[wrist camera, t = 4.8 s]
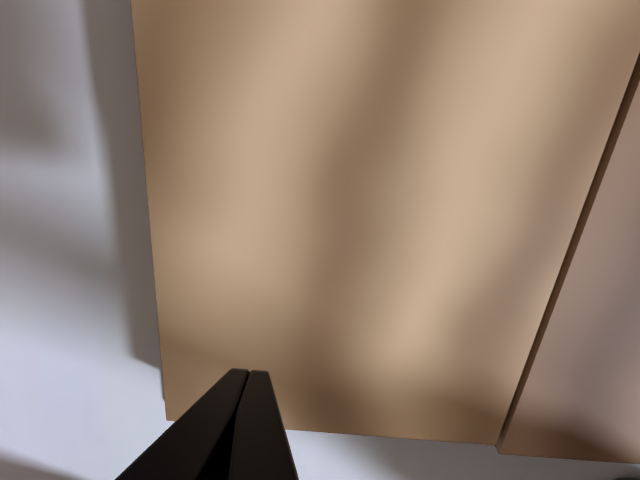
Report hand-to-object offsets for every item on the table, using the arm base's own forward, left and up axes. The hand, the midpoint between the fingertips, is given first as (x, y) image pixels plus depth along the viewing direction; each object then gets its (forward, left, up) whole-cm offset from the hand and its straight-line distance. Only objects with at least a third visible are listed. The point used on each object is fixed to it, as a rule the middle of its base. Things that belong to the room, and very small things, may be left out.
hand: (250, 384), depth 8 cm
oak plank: (-3, -1, -7) cm, 8 cm away
